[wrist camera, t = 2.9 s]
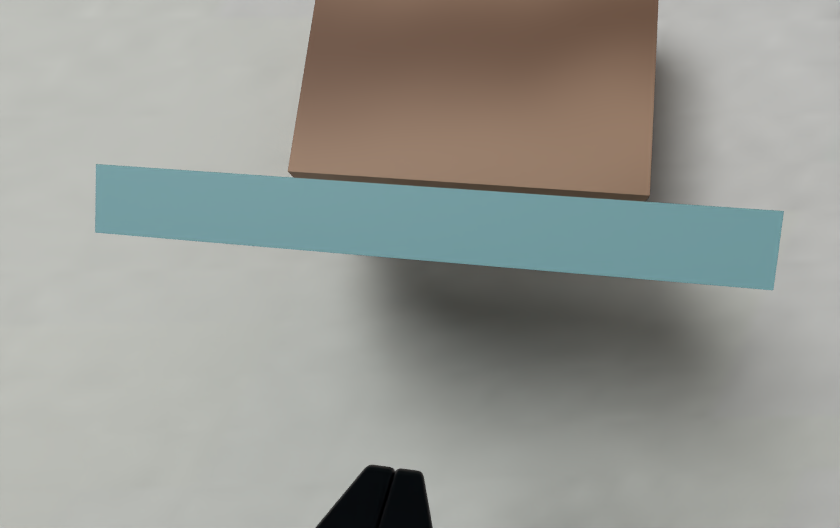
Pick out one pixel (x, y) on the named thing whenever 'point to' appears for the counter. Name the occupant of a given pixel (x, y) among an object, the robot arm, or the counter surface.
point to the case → (481, 95)
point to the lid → (446, 225)
